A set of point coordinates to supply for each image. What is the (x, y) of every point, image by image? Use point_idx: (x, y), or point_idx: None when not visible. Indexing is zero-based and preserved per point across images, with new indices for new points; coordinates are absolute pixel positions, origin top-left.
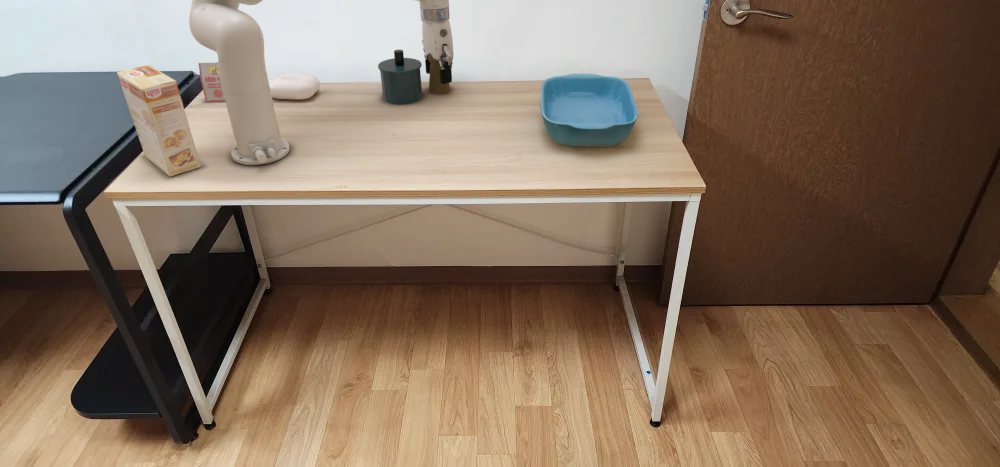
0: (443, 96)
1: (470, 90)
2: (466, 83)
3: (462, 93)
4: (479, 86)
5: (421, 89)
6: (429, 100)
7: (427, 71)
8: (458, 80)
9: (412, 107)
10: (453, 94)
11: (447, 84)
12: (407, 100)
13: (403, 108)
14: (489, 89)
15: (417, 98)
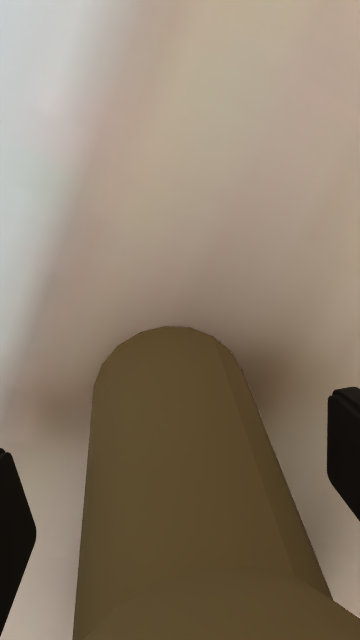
0: (295, 403)
1: (283, 190)
2: (113, 157)
3: (309, 272)
4: (233, 69)
5: None
6: (312, 486)
7: (28, 555)
8: (10, 199)
9: (353, 567)
10: (295, 336)
11: (241, 379)
12: None
13: (341, 600)
14: (343, 8)
15: None
